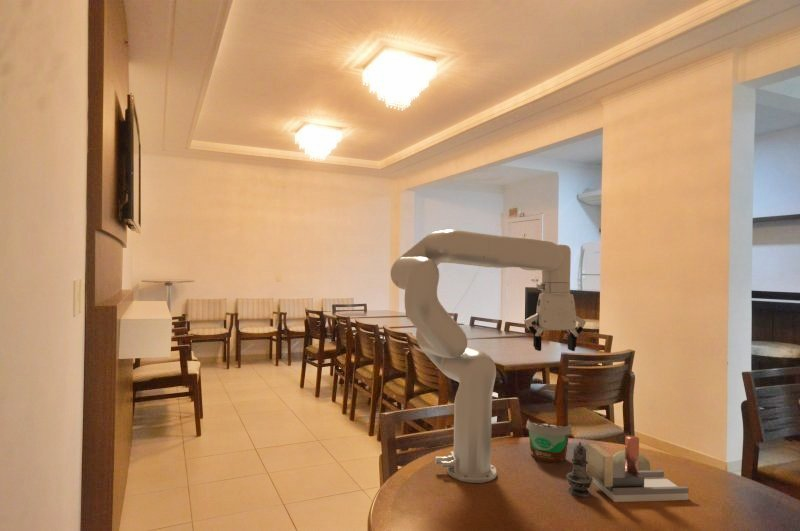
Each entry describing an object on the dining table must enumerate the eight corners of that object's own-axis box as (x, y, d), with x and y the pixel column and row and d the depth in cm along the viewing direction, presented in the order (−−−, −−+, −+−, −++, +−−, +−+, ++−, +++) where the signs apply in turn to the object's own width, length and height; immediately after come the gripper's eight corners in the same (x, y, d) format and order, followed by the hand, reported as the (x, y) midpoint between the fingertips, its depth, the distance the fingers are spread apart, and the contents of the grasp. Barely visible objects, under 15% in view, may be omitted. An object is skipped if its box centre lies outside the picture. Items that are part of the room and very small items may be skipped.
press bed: (614, 501, 111) (614, 490, 111) (592, 482, 120) (593, 471, 120) (688, 499, 112) (688, 488, 112) (661, 480, 122) (661, 470, 122)
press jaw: (604, 492, 111) (605, 444, 111) (587, 477, 119) (588, 432, 119) (647, 491, 112) (648, 443, 112) (627, 476, 120) (628, 431, 120)
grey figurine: (591, 489, 117) (592, 439, 117) (593, 500, 111) (594, 447, 111) (566, 485, 119) (566, 436, 119) (565, 495, 113) (566, 444, 113)
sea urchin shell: (660, 470, 124) (638, 448, 124) (638, 492, 124) (616, 469, 124) (642, 456, 133) (622, 435, 133) (622, 476, 133) (601, 455, 133)
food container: (522, 460, 133) (523, 424, 133) (525, 453, 139) (526, 418, 139) (570, 468, 129) (570, 431, 129) (571, 460, 134) (572, 424, 134)
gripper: (530, 289, 131) (529, 352, 131) (592, 290, 132) (590, 352, 132) (521, 287, 138) (519, 347, 138) (579, 288, 140) (578, 348, 140)
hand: (554, 350), depth 135 cm, fingers open, 9 cm apart
